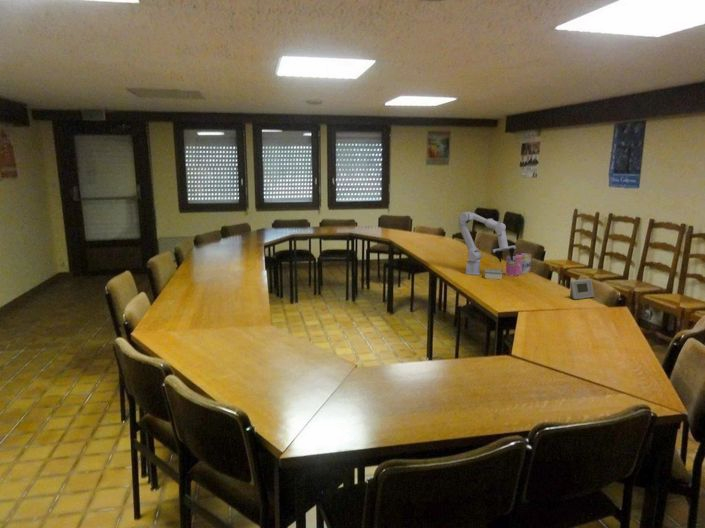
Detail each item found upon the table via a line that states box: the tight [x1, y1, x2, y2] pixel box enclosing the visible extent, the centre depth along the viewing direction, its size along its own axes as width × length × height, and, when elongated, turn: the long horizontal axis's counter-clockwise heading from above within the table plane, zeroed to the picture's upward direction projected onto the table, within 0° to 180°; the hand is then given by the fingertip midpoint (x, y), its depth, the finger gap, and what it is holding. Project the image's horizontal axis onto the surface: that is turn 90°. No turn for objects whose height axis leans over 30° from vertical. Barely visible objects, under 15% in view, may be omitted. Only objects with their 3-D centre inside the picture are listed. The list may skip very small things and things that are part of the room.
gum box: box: [504, 251, 532, 277], centre depth 338 cm, size 24×8×14 cm, turn 134°
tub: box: [484, 272, 503, 280], centre depth 324 cm, size 11×8×4 cm
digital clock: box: [569, 278, 595, 300], centre depth 278 cm, size 16×9×11 cm, turn 103°
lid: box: [484, 265, 506, 275], centre depth 323 cm, size 14×9×4 cm, turn 74°
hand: (506, 261), depth 321 cm, fingers open, 7 cm apart
